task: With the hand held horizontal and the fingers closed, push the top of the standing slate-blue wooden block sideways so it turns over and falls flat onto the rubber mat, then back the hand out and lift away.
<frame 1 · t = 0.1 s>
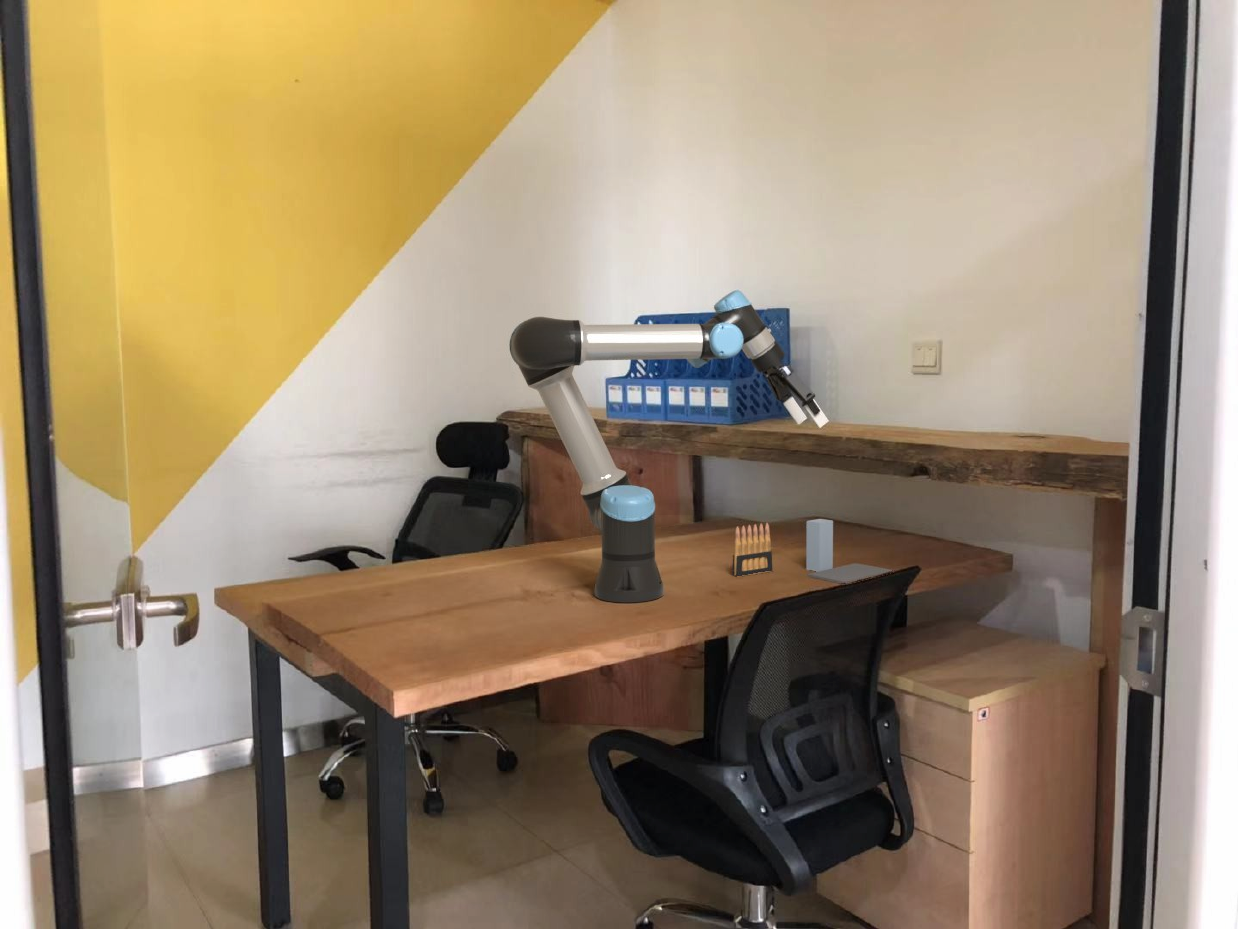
hand: (812, 423, 225), 36 cm above the table, tool tilted 35°, fingers open, 13 cm apart
mat: (850, 574, 224), on the table
block: (819, 569, 230), on the table
ammunition clip: (752, 574, 226), on the table
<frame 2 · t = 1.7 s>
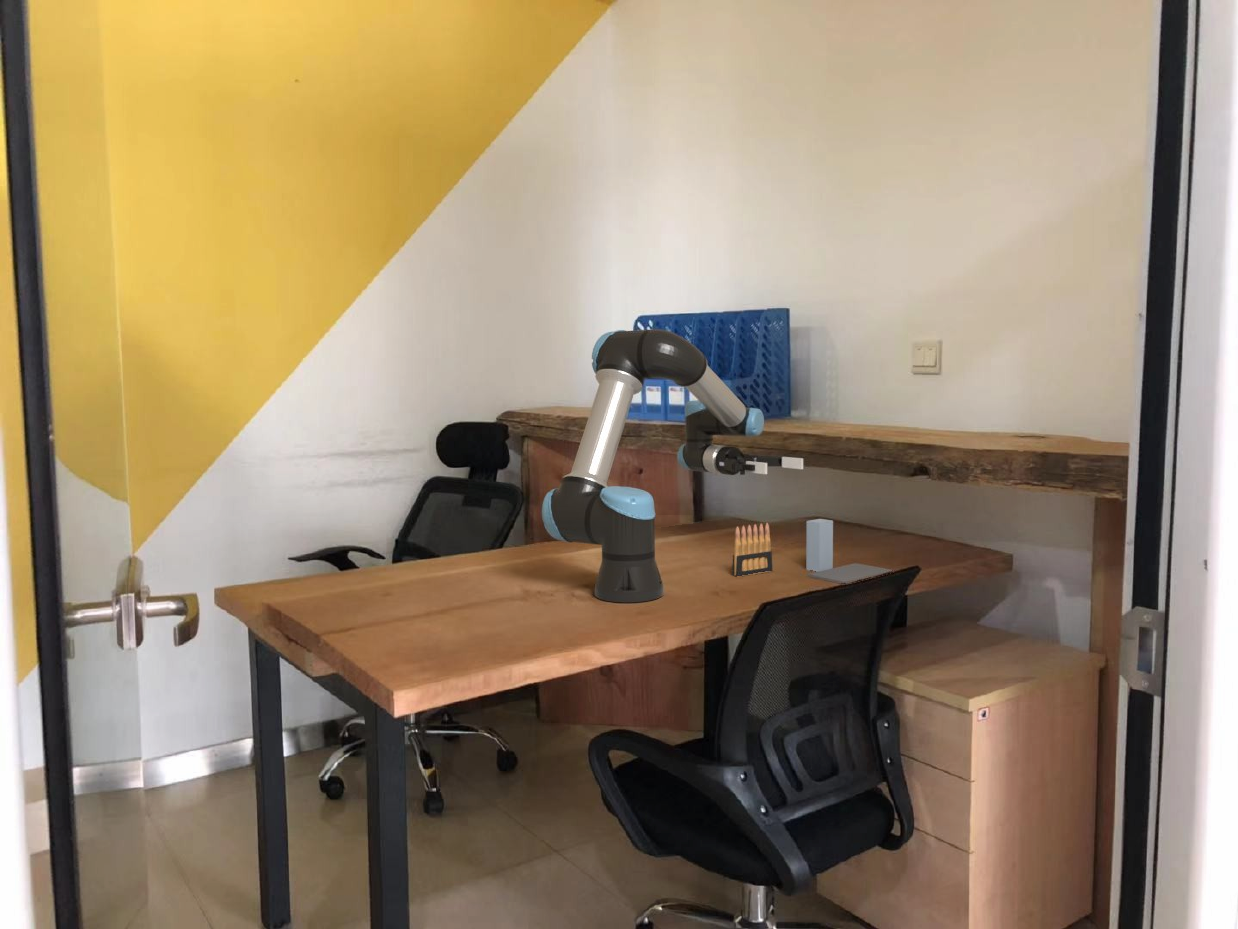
hand: (784, 466, 235), 24 cm above the table, tool horizontal, fingers open, 12 cm apart
nothing on the table moved.
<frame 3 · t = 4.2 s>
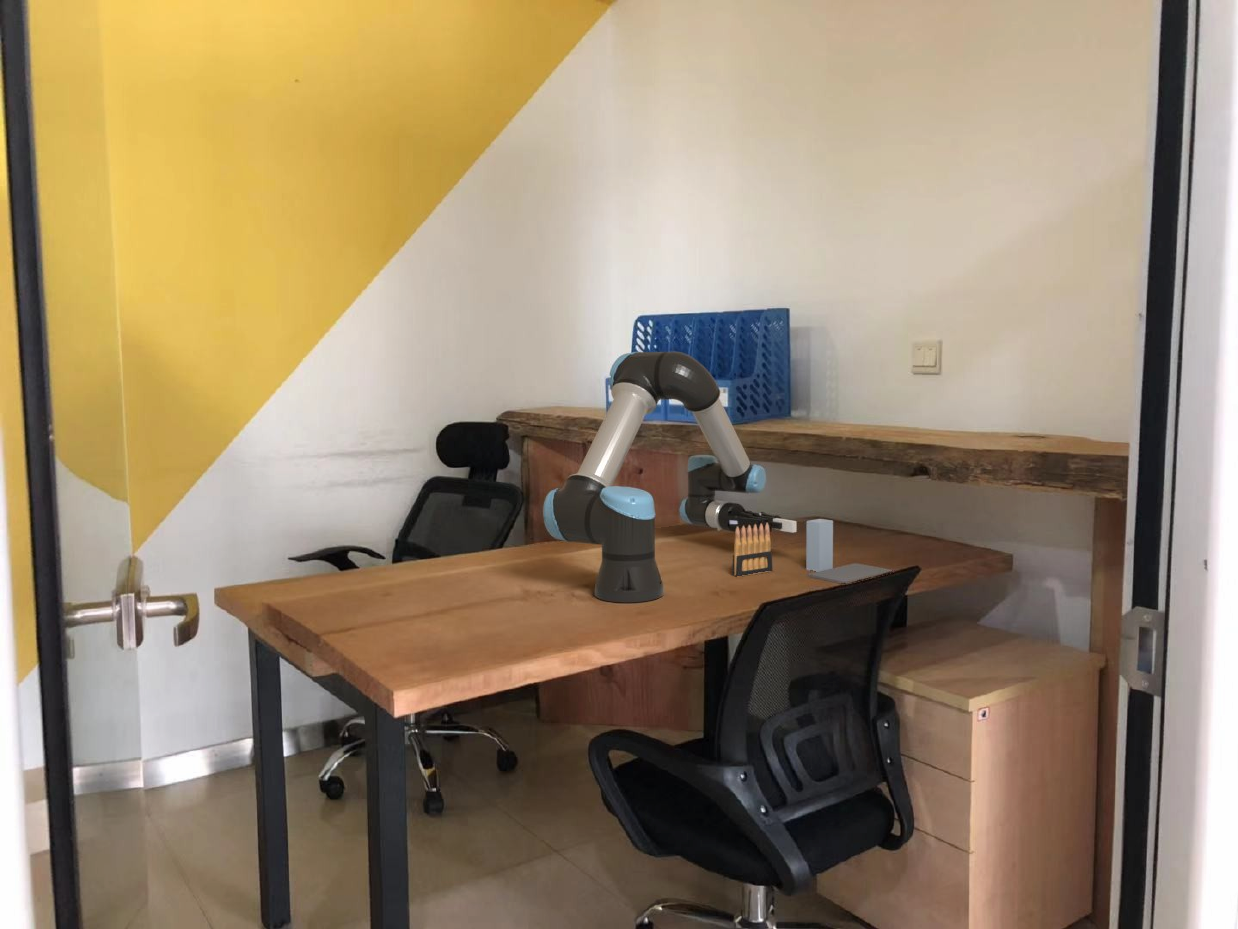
hand: (794, 526, 235), 9 cm above the table, tool horizontal, fingers closed
nothing on the table moved.
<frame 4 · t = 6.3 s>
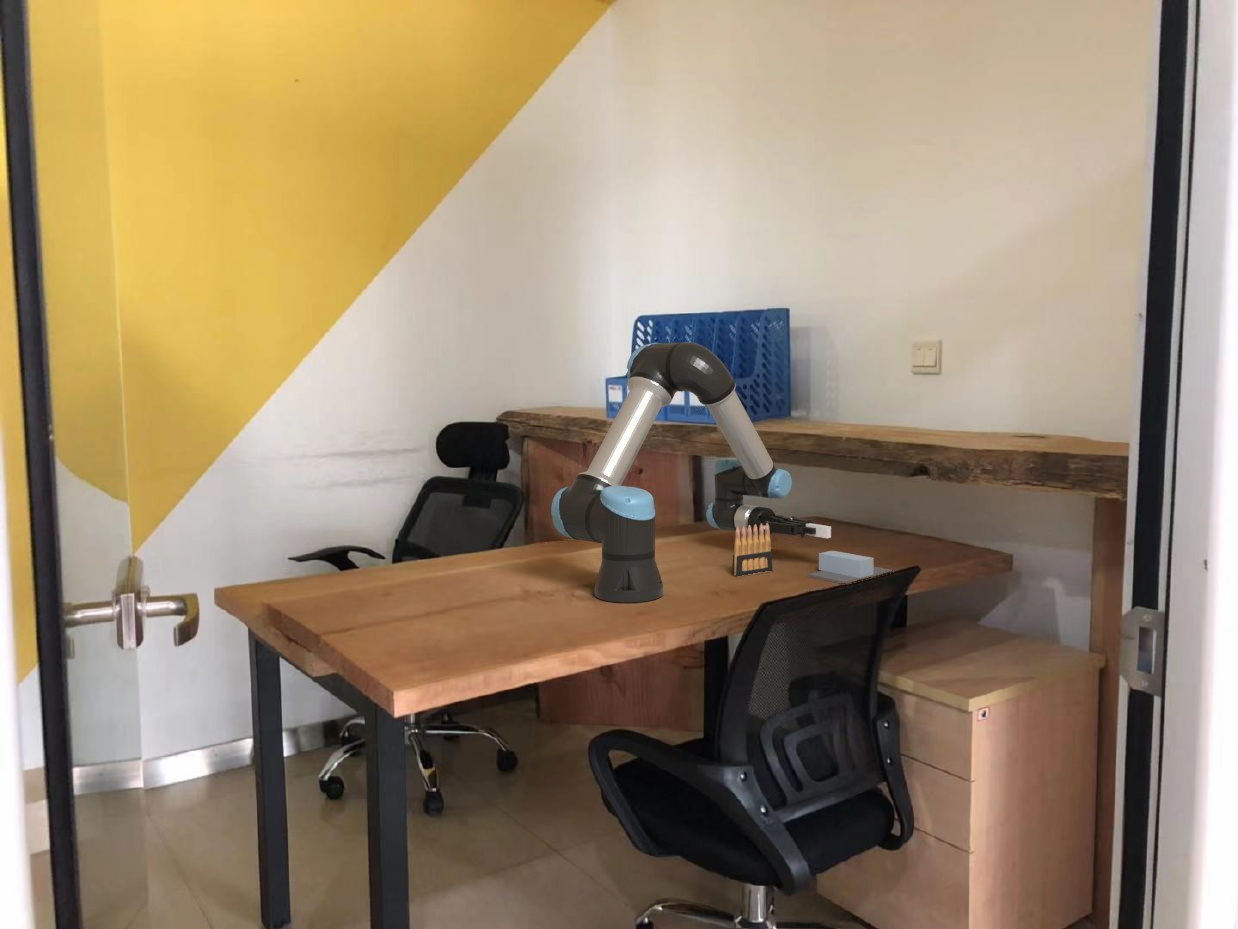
hand: (828, 532, 227), 9 cm above the table, tool horizontal, fingers closed
block: (825, 560, 228), point 3 cm above the table, tilted 90°, touching mat
everything else where it was.
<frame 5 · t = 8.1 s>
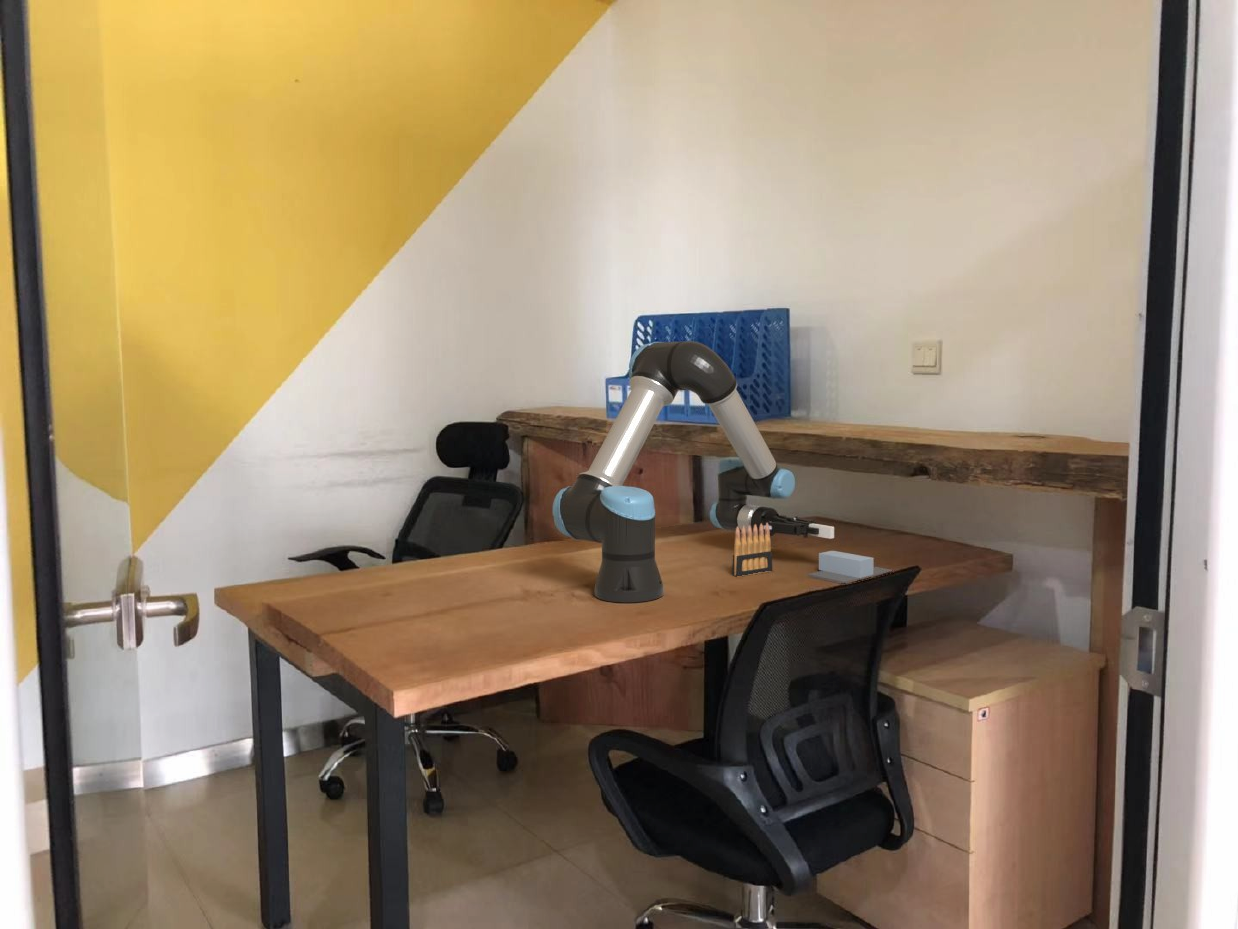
hand: (831, 532, 226), 10 cm above the table, tool horizontal, fingers closed
nothing on the table moved.
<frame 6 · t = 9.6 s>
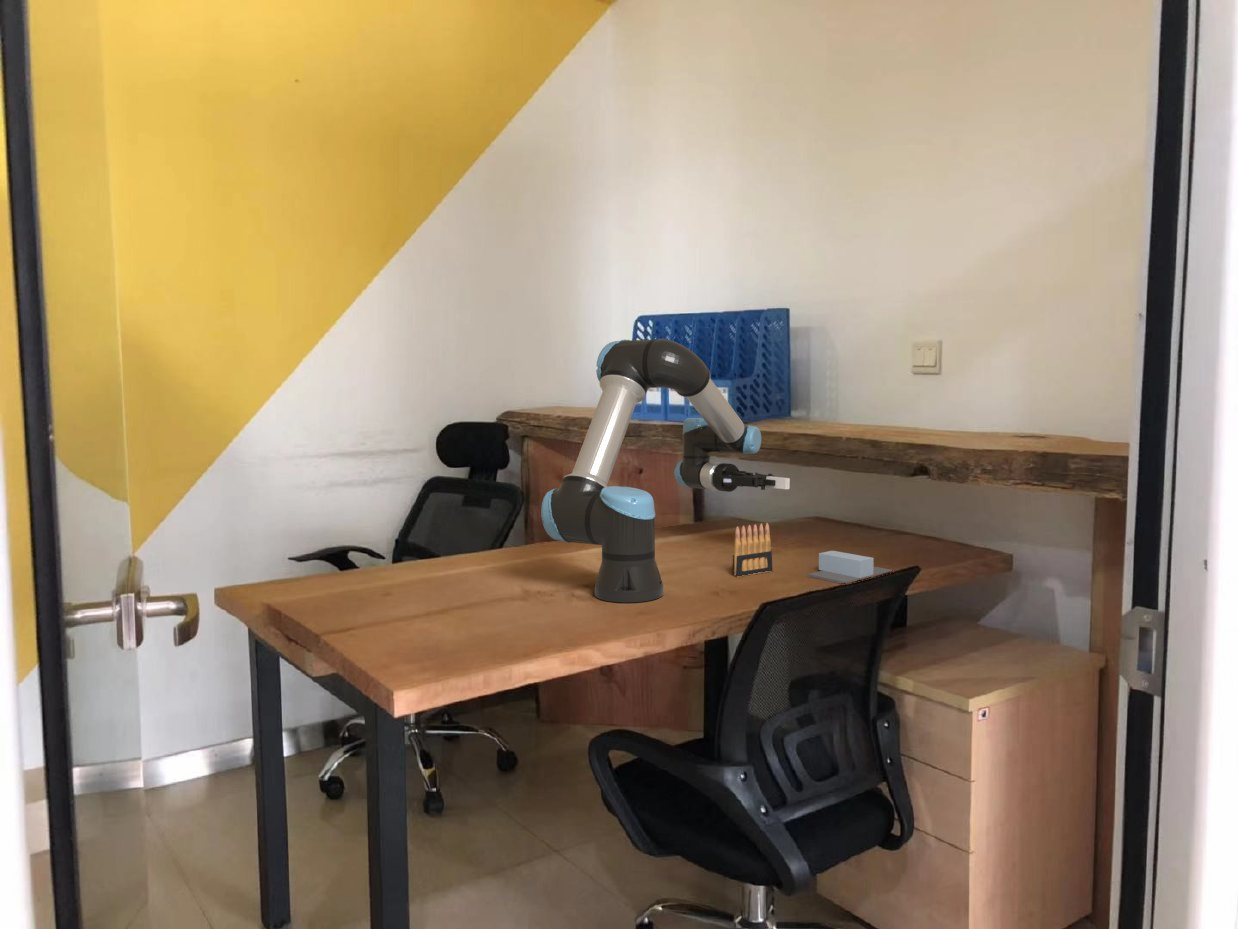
hand: (787, 483, 236), 20 cm above the table, tool horizontal, fingers closed
nothing on the table moved.
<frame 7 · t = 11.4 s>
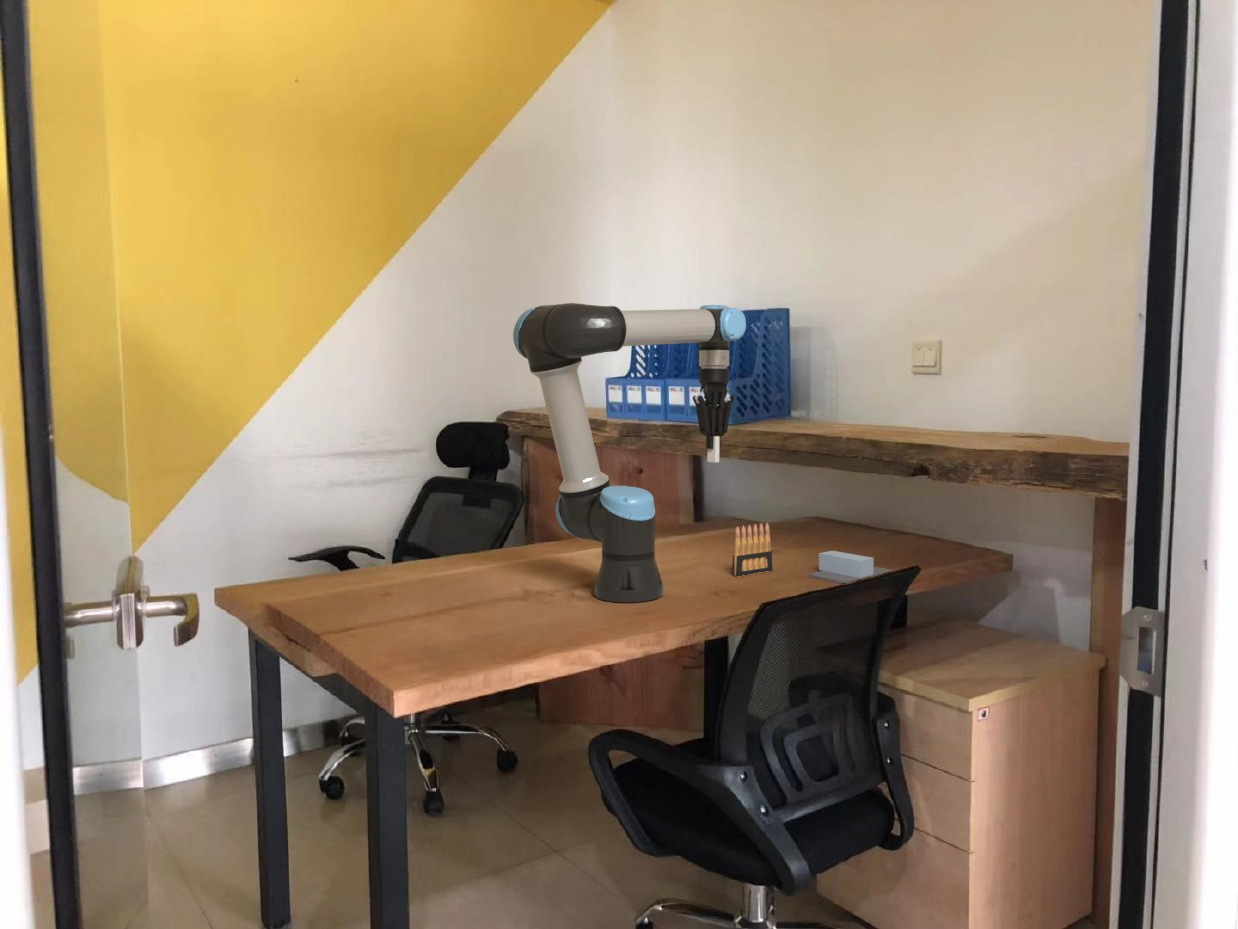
hand: (713, 461, 238), 26 cm above the table, tool pointing down, fingers closed
nothing on the table moved.
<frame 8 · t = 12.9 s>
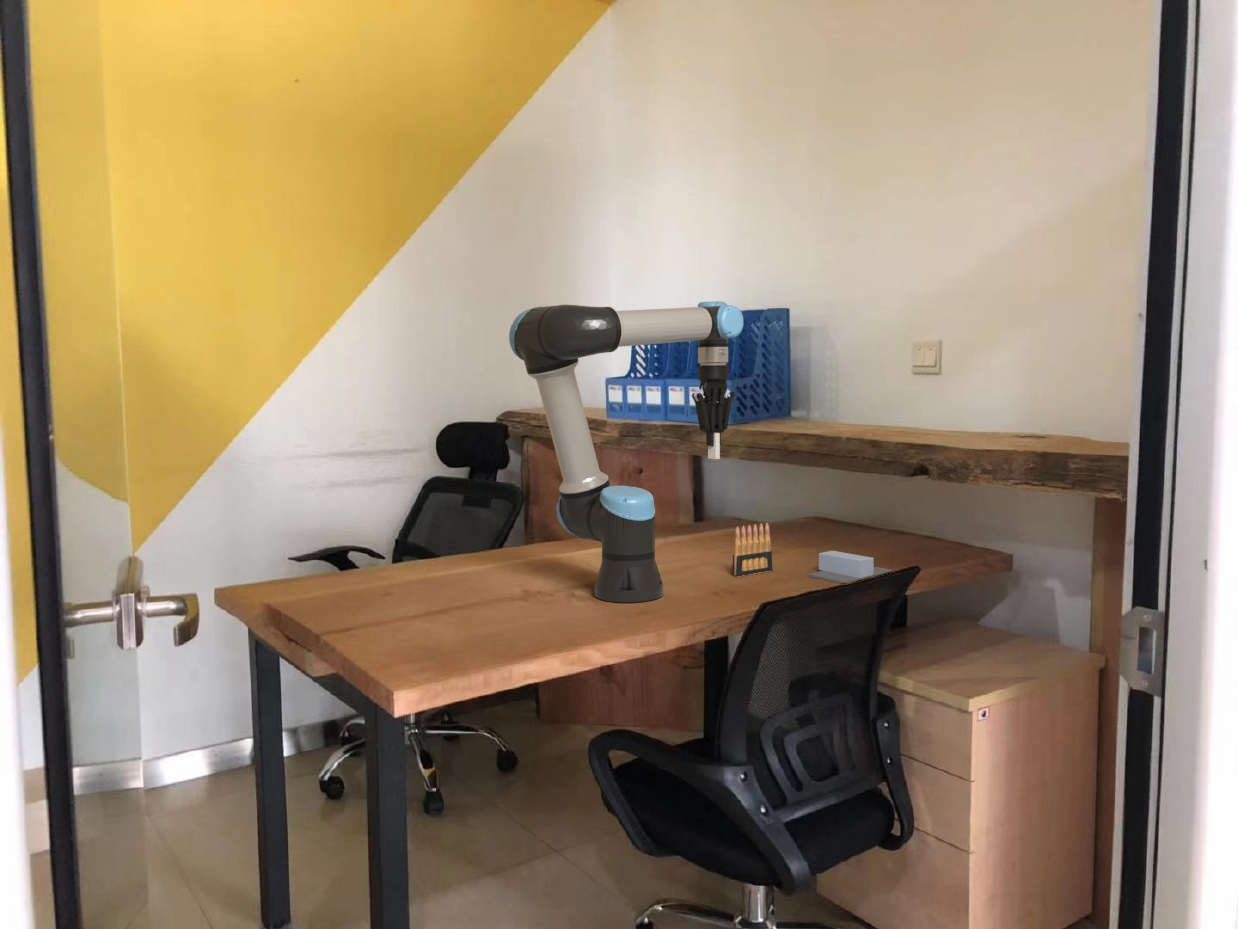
hand: (713, 458, 238), 26 cm above the table, tool pointing down, fingers closed
nothing on the table moved.
at the end: block tilted 90°; block inside the target area (4.7 cm from its centre), point 2.6 cm above the table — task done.
